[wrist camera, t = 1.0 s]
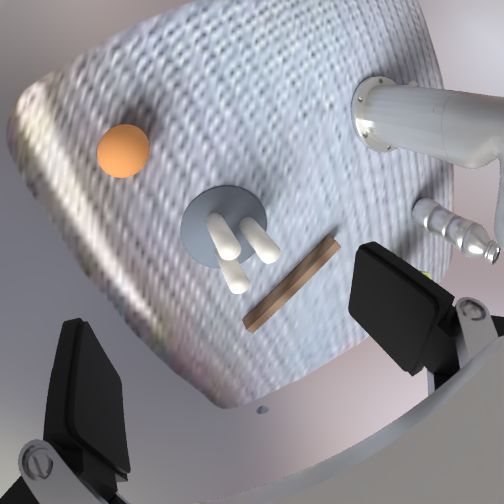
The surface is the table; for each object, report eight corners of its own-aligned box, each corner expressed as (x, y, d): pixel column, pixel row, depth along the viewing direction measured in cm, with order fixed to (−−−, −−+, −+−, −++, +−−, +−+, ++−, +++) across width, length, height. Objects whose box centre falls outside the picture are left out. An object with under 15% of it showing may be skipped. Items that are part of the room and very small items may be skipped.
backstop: (328, 234, 45) (336, 240, 42) (332, 240, 45) (341, 246, 43) (242, 320, 47) (246, 329, 45) (248, 323, 48) (253, 333, 46)
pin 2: (247, 212, 39) (271, 240, 31) (258, 223, 40) (284, 252, 32) (235, 225, 39) (256, 255, 31) (246, 235, 40) (269, 267, 33)
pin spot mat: (223, 167, 35) (224, 167, 35) (282, 223, 41) (282, 223, 41) (162, 236, 36) (162, 236, 36) (225, 281, 43) (226, 282, 42)
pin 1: (222, 239, 39) (239, 272, 32) (234, 248, 40) (253, 282, 33) (210, 251, 40) (225, 287, 32) (222, 260, 41) (239, 297, 33)
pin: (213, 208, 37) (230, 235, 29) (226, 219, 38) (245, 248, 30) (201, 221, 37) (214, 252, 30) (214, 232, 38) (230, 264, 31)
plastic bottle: (415, 190, 47) (499, 232, 30) (431, 200, 50) (507, 241, 33) (403, 220, 49) (483, 270, 32) (420, 228, 52) (492, 274, 35)
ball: (125, 113, 28) (117, 113, 23) (160, 144, 31) (160, 149, 26) (93, 153, 28) (80, 160, 23) (129, 181, 32) (123, 194, 27)
